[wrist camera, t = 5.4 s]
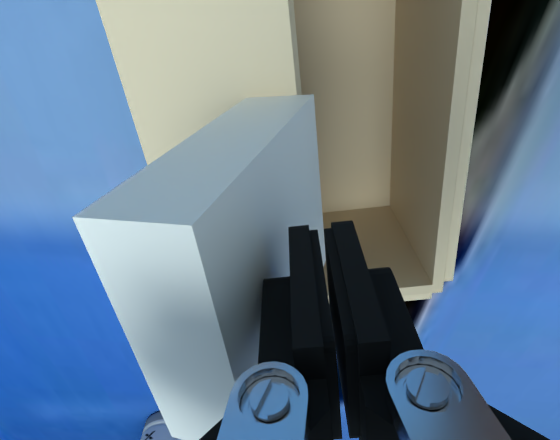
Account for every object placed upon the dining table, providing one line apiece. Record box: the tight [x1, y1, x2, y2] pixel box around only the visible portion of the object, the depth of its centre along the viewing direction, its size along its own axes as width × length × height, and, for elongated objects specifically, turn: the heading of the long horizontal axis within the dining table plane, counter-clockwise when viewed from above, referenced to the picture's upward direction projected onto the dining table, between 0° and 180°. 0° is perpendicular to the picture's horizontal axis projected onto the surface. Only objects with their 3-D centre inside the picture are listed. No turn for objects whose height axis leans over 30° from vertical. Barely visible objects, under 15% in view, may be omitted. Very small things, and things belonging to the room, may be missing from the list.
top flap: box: [72, 0, 326, 440], centre depth 13 cm, size 8×17×9 cm, turn 7°
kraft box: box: [293, 0, 492, 301], centre depth 22 cm, size 15×19×10 cm
